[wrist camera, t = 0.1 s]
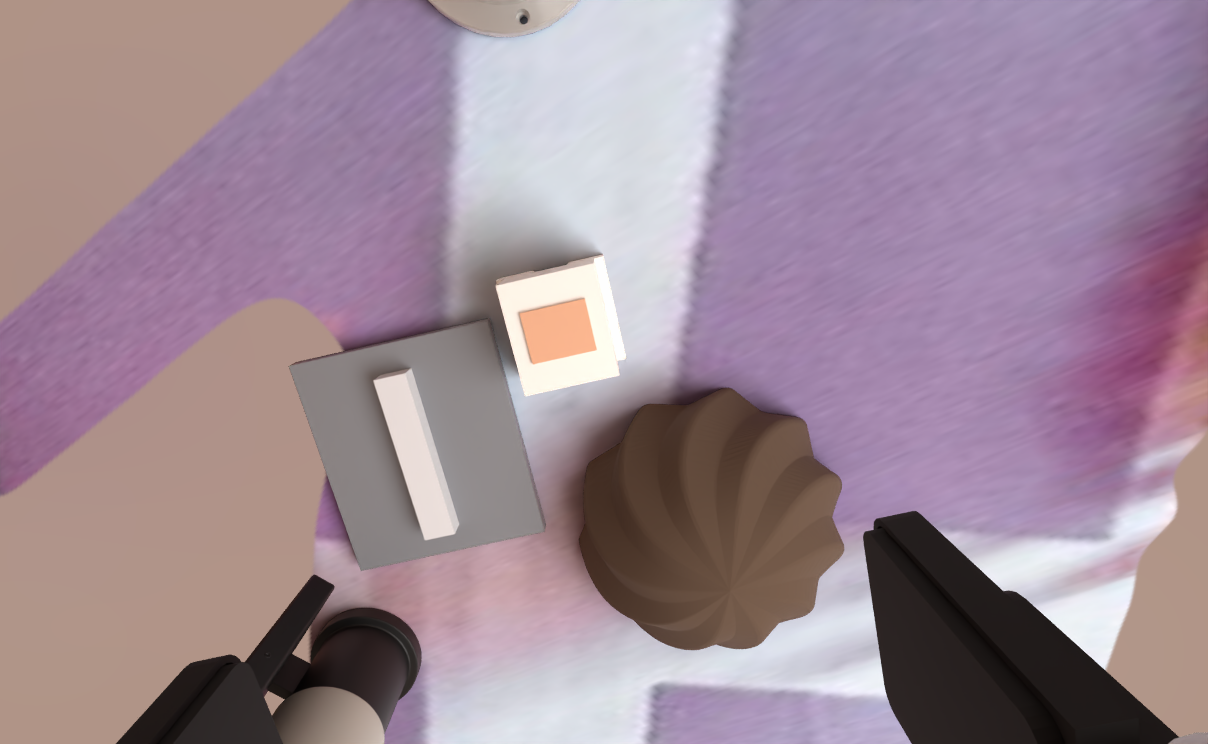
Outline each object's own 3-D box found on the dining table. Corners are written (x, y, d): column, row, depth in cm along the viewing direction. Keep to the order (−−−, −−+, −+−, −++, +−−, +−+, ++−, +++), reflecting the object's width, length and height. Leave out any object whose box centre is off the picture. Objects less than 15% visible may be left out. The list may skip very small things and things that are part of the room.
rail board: (296, 362, 46) (278, 371, 43) (489, 318, 45) (483, 324, 43) (366, 562, 50) (353, 582, 47) (545, 524, 49) (543, 541, 46)
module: (500, 277, 45) (485, 288, 39) (603, 254, 44) (604, 261, 38) (525, 374, 46) (515, 399, 40) (625, 352, 46) (629, 374, 40)
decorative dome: (652, 666, 52) (665, 769, 43) (531, 460, 48) (515, 524, 38) (876, 564, 50) (943, 648, 41) (771, 340, 46) (817, 375, 36)
